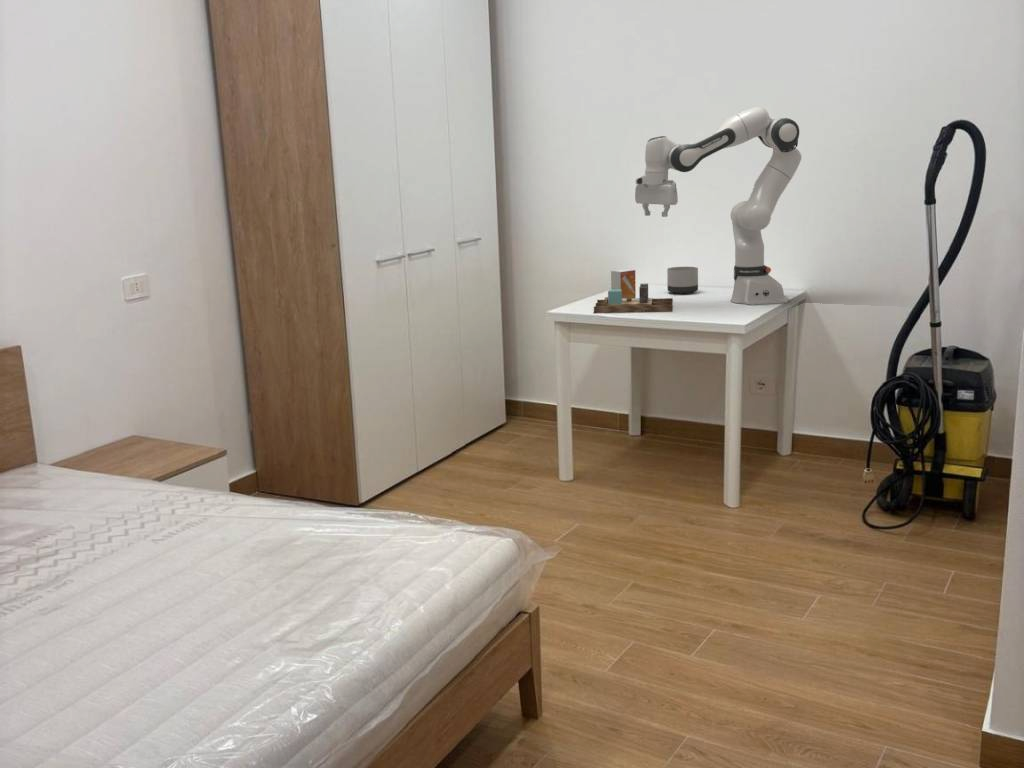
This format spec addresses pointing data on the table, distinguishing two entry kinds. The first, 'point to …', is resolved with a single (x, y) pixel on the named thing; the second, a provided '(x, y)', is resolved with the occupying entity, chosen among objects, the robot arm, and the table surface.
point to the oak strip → (643, 301)
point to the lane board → (636, 307)
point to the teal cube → (615, 296)
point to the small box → (624, 282)
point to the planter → (682, 280)
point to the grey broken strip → (637, 298)
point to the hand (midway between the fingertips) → (655, 216)
